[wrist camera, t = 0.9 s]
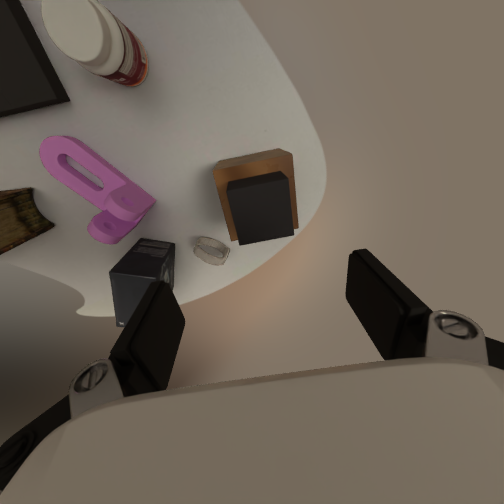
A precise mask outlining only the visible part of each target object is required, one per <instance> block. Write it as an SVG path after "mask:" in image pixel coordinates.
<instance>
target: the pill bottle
mask: <svg viewBox="0 0 504 504" xmlns="http://www.w3.org/2000/svg"><path fill="white" fill-rule="evenodd" d="M41 12H42V18H43V22H44V25H45V28H46V30H47V32H48V34H49V36H50V38H51V39H52V41H53V42H54V43H55V45H56V46H57V47H58V48H59V49H60V50H61V51H62V52H63V53H64V54H66V55H67V56H68V57H70V58H72V59H74V60H76V61H77V62H78V63H79V64H80V65H81V66H82V67H84V68H85V69H86V70H88V71H90V72H91V73H93V74H96V75H99V76H102V77H104V78H107V79H109V80H111V81H114V82H117V83H120V84H122V85H125V86H130V87H134V86H137V85H139V84H141V83H142V82H143V81H144V80H145V78H146V76H147V73H148V67H149V65H148V57H147V54H146V51H145V49H144V46H143V45H142V43H141V42H140V40H139V39H138V38H137V37H136V36H135V35H134V34H133V33H132V32H131V31H130V30H129V29H128V28H127V27H126V26H125V25H124V24H123V23H122V22H121V21H119V20H118V19H117V18H116V17H115V16H114V15H113V14H112V13H111V12H110V11H109V10H108V9H107V8H106V7H105V6H103V5H102V4H101V3H99V2H98V1H96V0H42V5H41Z"/></svg>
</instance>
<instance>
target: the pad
mask: <svg viewBox="0 0 504 504" xmlns="http://www.w3.org/2000/svg"><path fill="white" fill-rule="evenodd" d="M226 193H227V197H228V201H229V205H230V209H231V213H232V217H233V221H234V225H235V229H236V233H237V237H238V241H239V245H246V244H251V243H256V242H261V241H266V240H272V239H277V238H282V237H287V236H293V235H294V228H293V218H292V207H291V197H290V187H289V178H288V177H287V176H286V175H285V174H284V173H283V172H281V171H276V172H272V173H267V174H262V175H257V176H252V177H248V178H243V179H238V180H233V181H229V182H228V185H227V190H226Z"/></svg>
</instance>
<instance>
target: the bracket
mask: <svg viewBox="0 0 504 504" xmlns="http://www.w3.org/2000/svg"><path fill="white" fill-rule="evenodd" d="M66 155H68V156H70V157H71V158H72V159H74V160H75V161H76V162H78V163H79V164H81V165H82V166H83V167H85V168H86V169H87V170H89V171H90V172H91V173H93V174H94V175H95V176H97V177H98V178H99V179H101V180H102V182H103V184H104V188H100V187H99V186H97V185H96V184H94V183H93V182H92V181H90V180H89V179H88V178H86V177H85V176H83V175H82V174H81V173H79V172H78V171H77V170H75V169H74V168H72V167H71V166H70V165H69V164H68V163H67V161H66ZM40 158H41V161H42V163H43V165H44V167H45V168H46V169H47V171H48V172H49V173H50V174H51V175H52V176H53V177H55V178H56V179H57V180H59V181H60V182H62V183H63V184H65V185H66V186H67V187H69V188H70V189H72V190H73V191H75V192H76V193H78V194H79V195H81V196H82V197H84V198H85V199H86V200H88V201H89V202H91V203H92V204H94V205H95V206H97V207H98V208H100V209H101V210H102V212H101V213H99V214H97V215H96V216H94V217H93V219H92V220H91V222H90V223H89V225H88V227H87V230H88V232H89V234H90V235H91V236H92V237H93V238H94V239H96V240H98V241H100V242H102V243H105V244H116V243H118V242H119V241H120V240H122V239H123V238H124V237H125V236H126V235H127V234H128V233H129V232H130V231H131V230H133V229H134V228H135V227H136V226H137V224H138V223H139V222H140V220H141V219H142V218H143V217H144V215H145V214H146V213H147V212H148V210H149V209H150V208H151V207H152V205H153V204H154V203H155V201H156V200H155V199H154V198H153V197H152V196H150V195H149V194H148V193H146V192H145V191H144V190H143V189H141V188H140V187H139V186H138V185H136V184H135V183H134V182H132V181H131V180H130V179H129V178H127V177H126V176H125V175H123V174H122V173H121V172H120V171H118V170H117V169H116V168H115V167H113V166H112V165H111V164H109V163H108V162H107V161H106V160H104V159H103V158H102V157H100V156H99V155H98V154H97V153H95V152H94V151H93V150H92V149H90V148H89V147H88V146H86V145H85V144H84V143H83V142H81V141H80V140H78V139H76V138H73V137H70V136H51V137H48V138H46V139H44V140H43V142H42V143H41V145H40Z"/></svg>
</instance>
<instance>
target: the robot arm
mask: <svg viewBox="0 0 504 504" xmlns="http://www.w3.org/2000/svg"><path fill="white" fill-rule="evenodd" d="M346 299H347V301H348V303H349V304H350V306H351V308H352V309H353V311H354V313H355V314H356V316H357V317H358V319H359V321H360V322H361V324H362V325H363V327H364V329H365V330H366V332H367V333H368V335H369V337H370V338H371V340H372V341H373V343H374V345H375V346H376V348H377V349H378V351H379V353H380V354H381V356H382V357H383V359H384V360H385V361H377V362H369V363H359V364H352V365H344V366H337V367H329V368H321V369H314V370H306V371H298V372H291V373H284V374H276V375H269V376H262V377H254V378H247V379H240V380H232V381H225V382H218V383H211V384H205V385H197V386H191V387H184V388H176V389H170V390H166V388H167V386H168V382H169V379H170V375H171V372H172V368H173V365H174V361H175V358H176V354H177V351H178V347H179V344H180V340H181V337H182V333H183V330H184V326H185V318H184V316H183V314H182V311H181V309H180V307H179V305H178V303H177V300H176V298H175V296H174V294H173V291H172V289H171V287H170V285H169V283H167V282H165V281H164V280H161V281H155V282H151V283H150V285H149V287H148V288H147V290H146V292H145V294H144V295H143V297H142V299H141V300H140V302H139V304H138V305H137V307H136V309H135V311H134V312H133V314H132V316H131V317H130V319H129V321H128V323H127V324H126V326H125V328H124V329H123V331H122V333H121V335H120V336H119V338H118V340H117V341H116V343H115V345H114V347H113V348H112V350H111V352H110V353H111V354H110V356H109V358H108V359H99V360H96V361H94V362H92V363H90V364H88V365H87V366H86V367H84V368H83V369H82V370H81V371H80V372H79V373H78V374H77V375H76V376H75V377H74V379H73V380H72V382H71V384H70V386H69V395H67V396H66V397H64V398H63V399H62V400H61V401H59V402H58V403H56V404H55V405H54V406H52V407H51V408H49V409H48V410H47V411H45V412H44V413H43V414H41V415H40V416H39V417H37V418H36V419H34V420H33V421H32V422H31V423H29V424H28V425H26V426H25V427H24V428H22V429H21V430H20V431H18V432H17V433H15V434H14V435H13V436H12V437H10V438H9V439H8V440H7V441H6V442H5V443H3V445H2V446H1V447H0V504H504V343H503V342H500V341H497V340H494V339H491V338H488V337H485V335H484V332H483V330H482V328H481V327H480V326H479V325H478V324H477V323H476V322H474V321H473V320H472V319H470V318H468V317H466V316H464V315H462V314H459V313H456V312H453V311H447V310H439V311H434V312H433V311H432V310H431V309H429V307H428V306H427V305H425V304H424V303H423V302H422V301H421V300H420V299H419V298H418V297H417V296H416V295H415V294H414V293H413V292H412V291H411V290H410V289H409V288H407V287H406V286H405V285H404V284H403V283H402V282H401V281H400V280H399V279H398V278H397V277H396V276H395V275H394V274H392V272H391V271H390V270H388V269H387V268H386V267H385V266H384V265H383V264H382V263H381V262H380V261H379V260H378V259H377V258H376V257H375V256H374V255H373V254H372V253H371V252H369V251H368V250H367V249H359V250H354V251H353V252H352V254H350V255H349V261H348V273H347V283H346Z"/></svg>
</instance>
